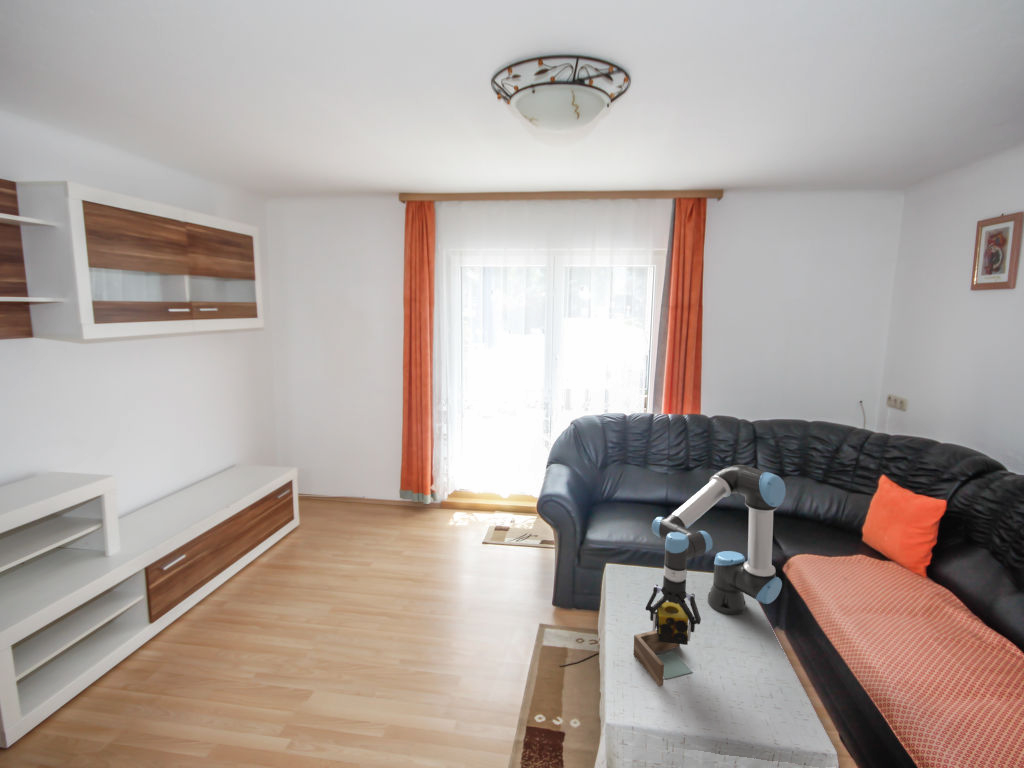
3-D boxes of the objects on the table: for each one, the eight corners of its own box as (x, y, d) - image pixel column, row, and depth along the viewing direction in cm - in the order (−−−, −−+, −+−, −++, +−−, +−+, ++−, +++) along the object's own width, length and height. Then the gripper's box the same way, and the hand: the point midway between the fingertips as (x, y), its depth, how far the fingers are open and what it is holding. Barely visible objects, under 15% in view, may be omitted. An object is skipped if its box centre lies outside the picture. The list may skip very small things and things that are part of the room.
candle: (684, 628, 184) (685, 602, 183) (688, 646, 175) (689, 619, 173) (655, 625, 187) (656, 599, 185) (657, 642, 177) (658, 615, 175)
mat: (673, 652, 189) (673, 651, 189) (692, 672, 179) (692, 671, 179) (648, 658, 186) (648, 657, 186) (665, 679, 176) (665, 678, 176)
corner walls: (677, 644, 194) (678, 625, 193) (705, 673, 178) (707, 653, 177) (633, 654, 188) (634, 635, 187) (659, 686, 173) (660, 665, 171)
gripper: (638, 573, 179) (635, 630, 183) (709, 591, 168) (705, 650, 172) (643, 564, 186) (640, 618, 189) (712, 580, 175) (708, 637, 179)
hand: (671, 634), depth 181 cm, fingers closed on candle, 11 cm apart
